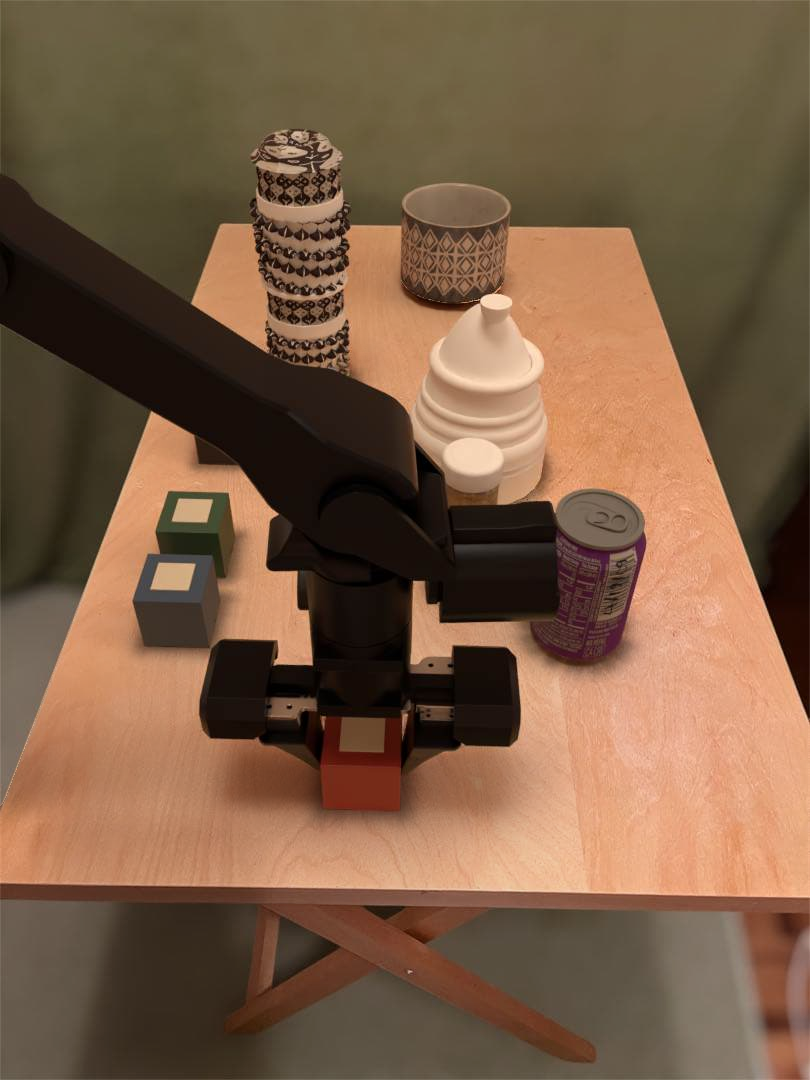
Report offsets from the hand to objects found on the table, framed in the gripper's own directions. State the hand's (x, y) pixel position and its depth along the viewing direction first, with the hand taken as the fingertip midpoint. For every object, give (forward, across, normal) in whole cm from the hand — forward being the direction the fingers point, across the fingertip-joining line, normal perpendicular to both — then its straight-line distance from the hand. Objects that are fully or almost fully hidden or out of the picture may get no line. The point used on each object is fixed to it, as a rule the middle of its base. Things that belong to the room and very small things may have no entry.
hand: (363, 768), depth 61 cm
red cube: (+1, 0, 0) cm, 1 cm away
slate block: (+1, +15, -13) cm, 20 cm away
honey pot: (+1, -9, -34) cm, 36 cm away
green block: (+1, +15, -21) cm, 26 cm away
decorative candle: (+1, +8, -48) cm, 49 cm away
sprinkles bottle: (+1, -7, -18) cm, 20 cm away
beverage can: (+1, -16, -14) cm, 21 cm away
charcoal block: (+1, +15, -36) cm, 39 cm away
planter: (+1, -7, -70) cm, 70 cm away
